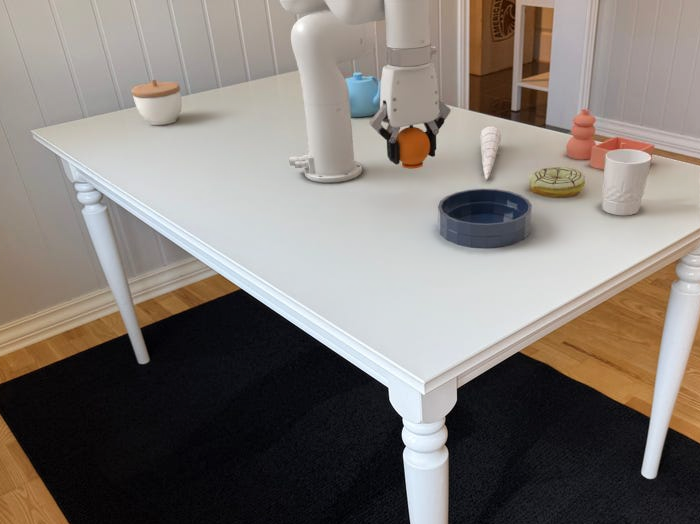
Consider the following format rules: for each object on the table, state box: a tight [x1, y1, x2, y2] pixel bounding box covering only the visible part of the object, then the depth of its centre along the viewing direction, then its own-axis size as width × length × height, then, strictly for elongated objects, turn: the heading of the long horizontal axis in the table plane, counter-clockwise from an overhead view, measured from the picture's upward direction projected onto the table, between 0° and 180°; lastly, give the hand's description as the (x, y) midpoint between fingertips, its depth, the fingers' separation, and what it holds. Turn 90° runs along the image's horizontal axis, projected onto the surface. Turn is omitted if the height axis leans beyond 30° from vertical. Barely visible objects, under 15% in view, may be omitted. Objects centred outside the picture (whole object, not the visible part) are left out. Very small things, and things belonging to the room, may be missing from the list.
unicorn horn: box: [479, 126, 502, 180], centre depth 150 cm, size 5×24×5 cm, turn 168°
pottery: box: [565, 108, 655, 171], centre depth 147 cm, size 18×10×10 cm, turn 43°
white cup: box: [601, 149, 652, 216], centre depth 125 cm, size 8×8×10 cm
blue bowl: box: [437, 188, 533, 249], centre depth 121 cm, size 16×16×5 cm
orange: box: [396, 125, 430, 170], centre depth 127 cm, size 7×7×7 cm
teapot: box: [344, 71, 381, 118], centre depth 186 cm, size 15×15×10 cm
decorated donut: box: [528, 166, 586, 199], centre depth 135 cm, size 10×11×4 cm
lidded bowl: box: [130, 78, 183, 126], centre depth 186 cm, size 13×13×11 cm
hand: (412, 157), depth 128 cm, fingers closed on orange, 6 cm apart
